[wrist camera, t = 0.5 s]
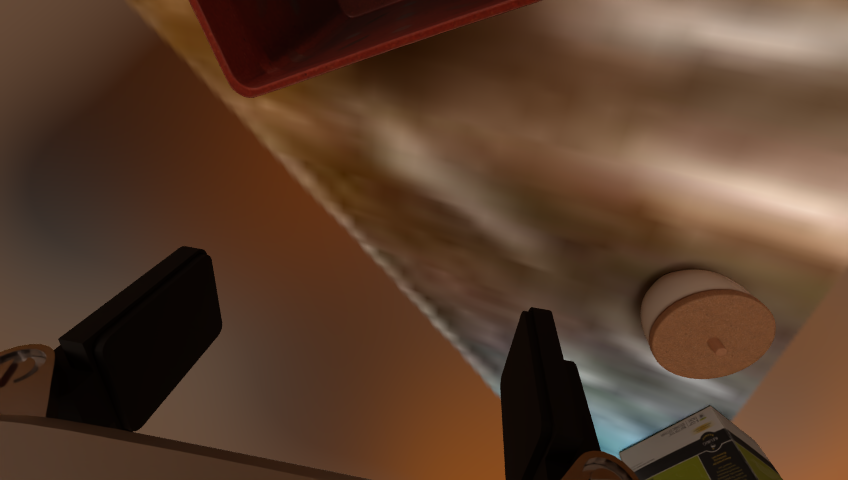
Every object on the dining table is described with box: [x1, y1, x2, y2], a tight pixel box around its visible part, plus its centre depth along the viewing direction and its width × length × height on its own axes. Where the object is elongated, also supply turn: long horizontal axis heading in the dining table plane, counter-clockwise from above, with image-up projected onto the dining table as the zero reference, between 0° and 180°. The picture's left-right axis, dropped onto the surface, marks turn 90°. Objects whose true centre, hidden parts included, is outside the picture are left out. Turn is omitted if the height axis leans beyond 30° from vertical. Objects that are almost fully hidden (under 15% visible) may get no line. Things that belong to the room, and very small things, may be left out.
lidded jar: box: [640, 269, 776, 379], centre depth 41 cm, size 11×11×9 cm
